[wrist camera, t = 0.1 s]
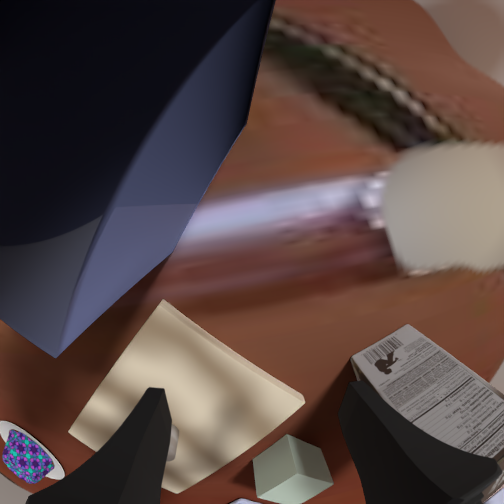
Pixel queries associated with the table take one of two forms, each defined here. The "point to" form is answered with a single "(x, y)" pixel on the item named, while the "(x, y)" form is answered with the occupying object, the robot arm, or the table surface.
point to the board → (188, 397)
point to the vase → (110, 143)
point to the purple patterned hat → (27, 455)
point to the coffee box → (436, 394)
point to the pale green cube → (291, 471)
